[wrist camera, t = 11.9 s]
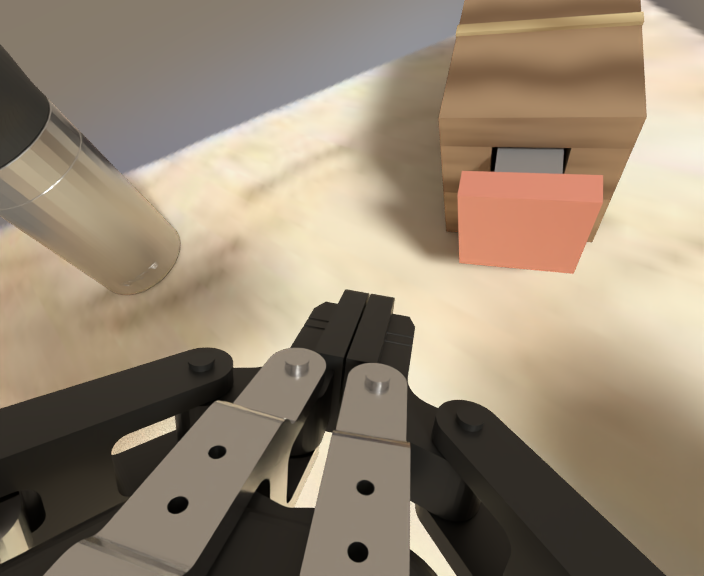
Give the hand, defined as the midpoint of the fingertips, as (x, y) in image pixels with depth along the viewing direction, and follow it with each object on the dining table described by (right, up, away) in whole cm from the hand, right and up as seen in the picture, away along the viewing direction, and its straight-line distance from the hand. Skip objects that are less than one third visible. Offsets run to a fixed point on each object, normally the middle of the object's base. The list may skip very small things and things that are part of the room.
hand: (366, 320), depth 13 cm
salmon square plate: (+14, +11, +24) cm, 30 cm away
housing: (+16, +14, +29) cm, 36 cm away
